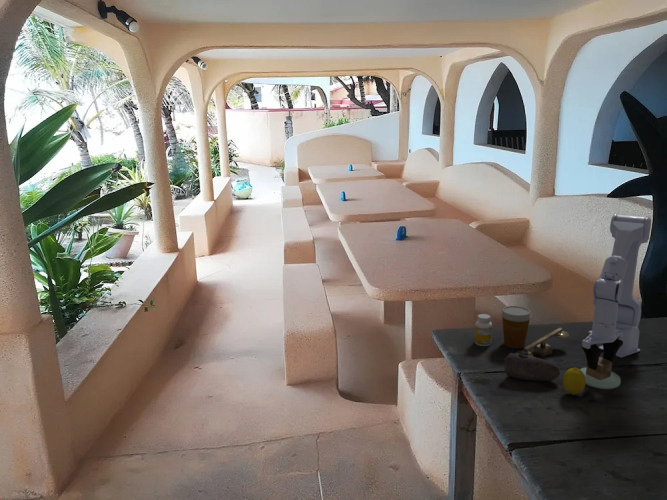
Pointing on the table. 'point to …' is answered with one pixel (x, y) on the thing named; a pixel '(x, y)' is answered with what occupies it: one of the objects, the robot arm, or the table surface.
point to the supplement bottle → (483, 330)
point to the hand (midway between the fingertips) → (599, 365)
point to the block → (600, 369)
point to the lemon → (574, 381)
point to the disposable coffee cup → (515, 325)
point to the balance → (543, 344)
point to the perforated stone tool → (530, 368)
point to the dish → (602, 381)
